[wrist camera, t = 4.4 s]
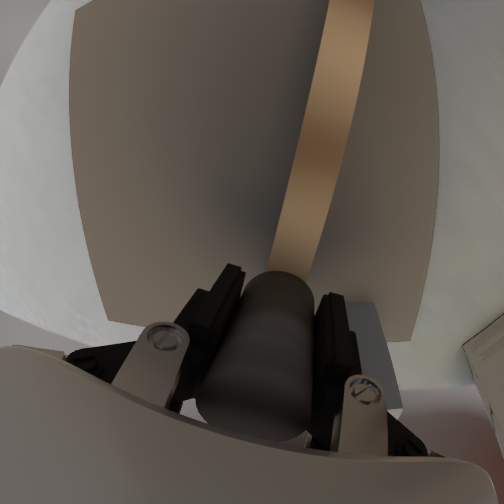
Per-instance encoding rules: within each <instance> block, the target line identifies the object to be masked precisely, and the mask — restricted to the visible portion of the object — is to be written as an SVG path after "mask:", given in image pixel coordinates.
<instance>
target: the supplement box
mask: <svg viewBox="0 0 504 504" xmlns="http://www.w3.org/2000/svg"><path fill="white" fill-rule="evenodd" d="M463 349H464V351H465V354H466V356H467V358H468V361H469V364H470V367H471V370H472V373H473V377H474V382H475V384H476V387H477V389H478V391H479V393H480V396H481V398H482V401H483V403H484V405H485V408H486V410H487V413H488V415H489V418H490V420H491V423H492V426H493V429H494V431H495V434H496V437H497V440H498V442H499V445H500V448H501V451H502V455H503V458H504V314H503V315H502V316H501V317H500V318H498V319H497V320H496V321H495V322H493V323H492V324H491V325H489V326H488V327H487V328H486V329H484V330H483V331H482V332H480V333H479V334H478V335H476V336H475V337H474V338H472V339H471V340H469V341H468V342H467V343H465V344H464V345H463Z"/></svg>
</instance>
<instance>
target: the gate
mask: <svg viewBox="0 0 504 504" xmlns="http://www.w3.org/2000/svg"><path fill="white" fill-rule="evenodd" d="M373 8H374V0H330V1H329V6H328V11H327V16H326V20H325V25H324V30H323V35H322V39H321V44H320V49H319V53H318V58H317V62H316V67H315V71H314V76H313V80H312V85H311V89H310V94H309V98H308V102H307V107H306V111H305V115H304V120H303V124H302V128H301V133H300V137H299V141H298V145H297V149H296V154H295V158H294V162H293V166H292V170H291V174H290V178H289V182H288V187H287V191H286V195H285V199H284V203H283V207H282V211H281V215H280V219H279V223H278V227H277V231H276V235H275V238H274V242H273V246H272V250H271V254H270V258H269V262H268V266H267V269H266V272H264V273H261V274H259V275H257V276H255V277H254V278H252V279H251V280H250V281H249V282H248V283H247V285H246V286H245V288H244V290H243V292H242V295H241V297H240V299H239V301H238V304H237V306H236V308H235V310H234V313H233V315H232V317H231V319H230V322H229V324H228V326H227V328H226V331H225V333H224V335H223V337H222V340H221V342H220V344H219V346H218V349H217V351H216V353H215V355H214V357H213V360H212V362H211V364H210V366H209V369H208V371H207V373H206V375H205V377H204V380H203V382H202V384H201V386H200V389H199V391H198V393H197V396H196V407H197V409H198V411H199V413H200V415H201V416H202V417H203V419H204V420H205V421H206V422H207V423H208V424H210V425H213V426H216V427H219V428H223V429H226V430H229V431H233V432H237V433H240V434H244V435H248V436H252V437H256V438H260V439H264V440H268V441H273V442H283V441H287V440H289V439H292V438H294V437H297V436H298V435H300V434H301V433H302V432H304V431H305V430H306V429H307V427H308V426H309V424H310V421H311V409H312V391H313V368H314V326H315V301H314V296H313V293H312V291H311V289H310V288H309V286H308V285H307V284H306V280H307V277H308V274H309V271H310V268H311V265H312V262H313V259H314V256H315V253H316V250H317V246H318V243H319V240H320V237H321V234H322V230H323V227H324V224H325V220H326V217H327V214H328V210H329V207H330V203H331V200H332V196H333V193H334V189H335V185H336V182H337V178H338V174H339V171H340V167H341V163H342V159H343V155H344V152H345V148H346V144H347V140H348V135H349V131H350V127H351V123H352V119H353V114H354V110H355V105H356V101H357V96H358V92H359V87H360V82H361V77H362V72H363V67H364V62H365V56H366V51H367V45H368V40H369V34H370V27H371V21H372V14H373Z"/></svg>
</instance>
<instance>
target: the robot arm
mask: <svg viewBox="0 0 504 504" xmlns="http://www.w3.org/2000/svg"><path fill="white" fill-rule="evenodd" d="M241 269H242V267H240V266H236V265H233V264H230V263H228V264H227V265H226V267H225V268H224V270H223V271H222V273H221V274H220V276H219V277H218V279H217V280H216V282H215V283H214V285H213V286H212V288H211V290H210V291H207V290H203V289H200V288H198V289H197V290H196V291H195V293H194V294H193V295H192V297H191V298H190V300H189V301H188V302H187V304H186V305H185V306H184V308H183V309H182V311H181V312H180V313H179V315H178V316H177V318H176V319H175V320H174V322H173V323H171V322H156V323H152V324H150V325H148V326H147V327H146V328H145V329H144V330H143V331H142V333H141V335H140V336H139V338H138V340H137V341H132V342H126V343H120V344H113V345H106V346H99V347H92V348H84V349H80V350H76V351H74V352H72V353H70V354H69V355H65V353H64V352H63V351H55V350H48V349H41V348H33V347H27V346H22V345H12V346H3V347H0V504H498V500H497V496H496V492H495V489H494V486H493V484H492V481H491V478H490V476H489V475H488V473H487V472H486V471H485V470H484V469H482V468H481V467H479V466H477V465H475V464H473V463H469V462H466V461H463V460H458V459H453V458H446V457H444V456H441V455H439V454H437V453H435V452H433V451H430V452H429V453H427V449H426V447H425V445H424V443H423V442H422V441H421V440H420V439H419V438H418V437H416V436H415V435H414V434H413V433H412V432H411V431H410V430H408V429H407V428H406V427H405V426H404V425H403V424H401V423H400V422H399V421H398V420H397V419H396V418H395V417H393V416H392V415H391V414H390V413H389V412H388V411H387V406H386V394H385V391H384V389H383V387H382V386H381V385H380V384H379V383H378V382H377V381H376V380H374V379H373V378H371V377H368V376H366V375H362V368H361V362H360V355H359V349H358V343H357V337H356V333H355V332H354V331H351V330H349V323H348V317H347V311H346V305H345V299H344V295H340V294H336V293H333V292H329V294H328V295H326V294H324V295H323V297H322V299H321V301H320V304H319V306H318V309H317V311H316V314H315V326H314V368H313V391H312V409H311V421H310V424H309V426H308V427H307V429H306V430H307V431H308V432H309V435H308V437H307V441H306V446H305V448H304V447H298V446H293V445H287V444H282V443H278V442H273V441H268V440H264V439H260V438H256V437H252V436H248V435H244V434H240V433H237V432H233V431H229V430H226V429H223V428H219V427H216V426H213V425H210V424H207V423H204V422H200V421H198V420H195V419H192V418H189V417H186V416H183V415H180V411H181V408H182V405H183V401H185V400H188V399H191V398H195V399H196V396H197V393H198V391H199V389H200V386H201V384H202V382H203V380H204V377H205V375H206V373H207V371H208V369H209V366H210V364H211V362H212V360H213V357H214V355H215V353H216V351H217V349H218V346H219V344H220V342H221V340H222V337H223V335H224V333H225V331H226V328H227V326H228V324H229V322H230V319H231V317H232V315H233V313H234V310H235V308H236V306H237V304H238V301H239V299H240V296H241V292H242V287H243V283H244V279H245V275H246V272H244V271H241Z"/></svg>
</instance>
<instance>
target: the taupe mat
mask: <svg viewBox="0 0 504 504" xmlns="http://www.w3.org/2000/svg"><path fill="white" fill-rule="evenodd" d="M329 1H330V0H93V1H91V2H89V3H87V4H86V5H84V6H82V7H80V8H78V9H77V10H75V17H74V24H73V33H72V43H71V55H70V75H69V114H70V135H71V148H72V159H73V168H74V176H75V184H76V191H77V197H78V203H79V209H80V215H81V220H82V225H83V230H84V235H85V239H86V244H87V248H88V252H89V256H90V260H91V264H92V268H93V272H94V276H95V279H96V283H97V286H98V290H99V293H100V296H101V300H102V303H103V306H104V309H105V312H106V315H107V318H108V320H109V321H115V322H120V323H126V324H131V325H137V326H143V327H147V326H148V325H150V324H152V323H156V322H171V323H173V322H174V320H175V319H176V318H177V316H178V315H179V313H180V312H181V311H182V309H183V308H184V306H185V305H186V304H187V302H188V301H189V300H190V298H191V297H192V295H193V294H194V293H195V291H196V290H197V289H198V288H200V289H203V290H207V291H210V290H211V288H212V286H213V285H214V283H215V282H216V280H217V279H218V277H219V276H220V274H221V273H222V271H223V270H224V268H225V267H226V265H227V264H228V263H230V264H233V265H236V266H240V267H242V269H241V271H244V272H246V275H245V279H244V283H243V287H242V292H243V290H244V288H245V286H246V285H247V283H248V282H249V281H250V280H251V279H252V278H254V277H255V276H257V275H259V274H261V273H264V272H266V269H267V266H268V262H269V258H270V254H271V250H272V246H273V242H274V238H275V235H276V231H277V227H278V223H279V219H280V215H281V211H282V207H283V203H284V199H285V195H286V191H287V187H288V182H289V178H290V174H291V170H292V166H293V162H294V158H295V154H296V149H297V145H298V141H299V137H300V133H301V128H302V124H303V120H304V115H305V111H306V107H307V102H308V98H309V94H310V89H311V85H312V80H313V76H314V71H315V67H316V62H317V58H318V53H319V49H320V44H321V39H322V35H323V30H324V25H325V20H326V16H327V11H328V6H329ZM438 180H439V114H438V100H437V88H436V79H435V71H434V64H433V57H432V51H431V46H430V40H429V35H428V30H427V26H426V21H425V17H424V13H423V9H422V6H421V2H420V0H374V8H373V14H372V21H371V27H370V34H369V40H368V45H367V51H366V56H365V62H364V67H363V72H362V77H361V82H360V87H359V92H358V96H357V101H356V105H355V110H354V114H353V119H352V123H351V127H350V131H349V135H348V140H347V144H346V148H345V152H344V155H343V159H342V163H341V167H340V171H339V174H338V178H337V182H336V185H335V189H334V193H333V196H332V200H331V203H330V207H329V210H328V214H327V217H326V220H325V224H324V227H323V230H322V234H321V237H320V240H319V243H318V246H317V250H316V253H315V256H314V259H313V262H312V265H311V268H310V271H309V274H308V277H307V280H306V284H307V285H308V286H309V288H310V289H311V291H312V293H313V296H314V301H315V314H316V311H317V309H318V306H319V304H320V301H321V299H322V297H323V295H324V294H326V295H328V294H329V292H333V293H336V294H340V295H344V299H345V302H374V305H375V308H376V311H377V314H378V317H379V320H380V323H381V326H382V330H383V333H384V336H385V340H386V342H401V341H410V339H411V336H412V332H413V329H414V325H415V322H416V318H417V314H418V310H419V306H420V302H421V298H422V294H423V290H424V285H425V280H426V275H427V270H428V265H429V259H430V253H431V247H432V241H433V233H434V226H435V217H436V207H437V196H438ZM242 292H241V295H242ZM240 297H241V296H240Z"/></svg>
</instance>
